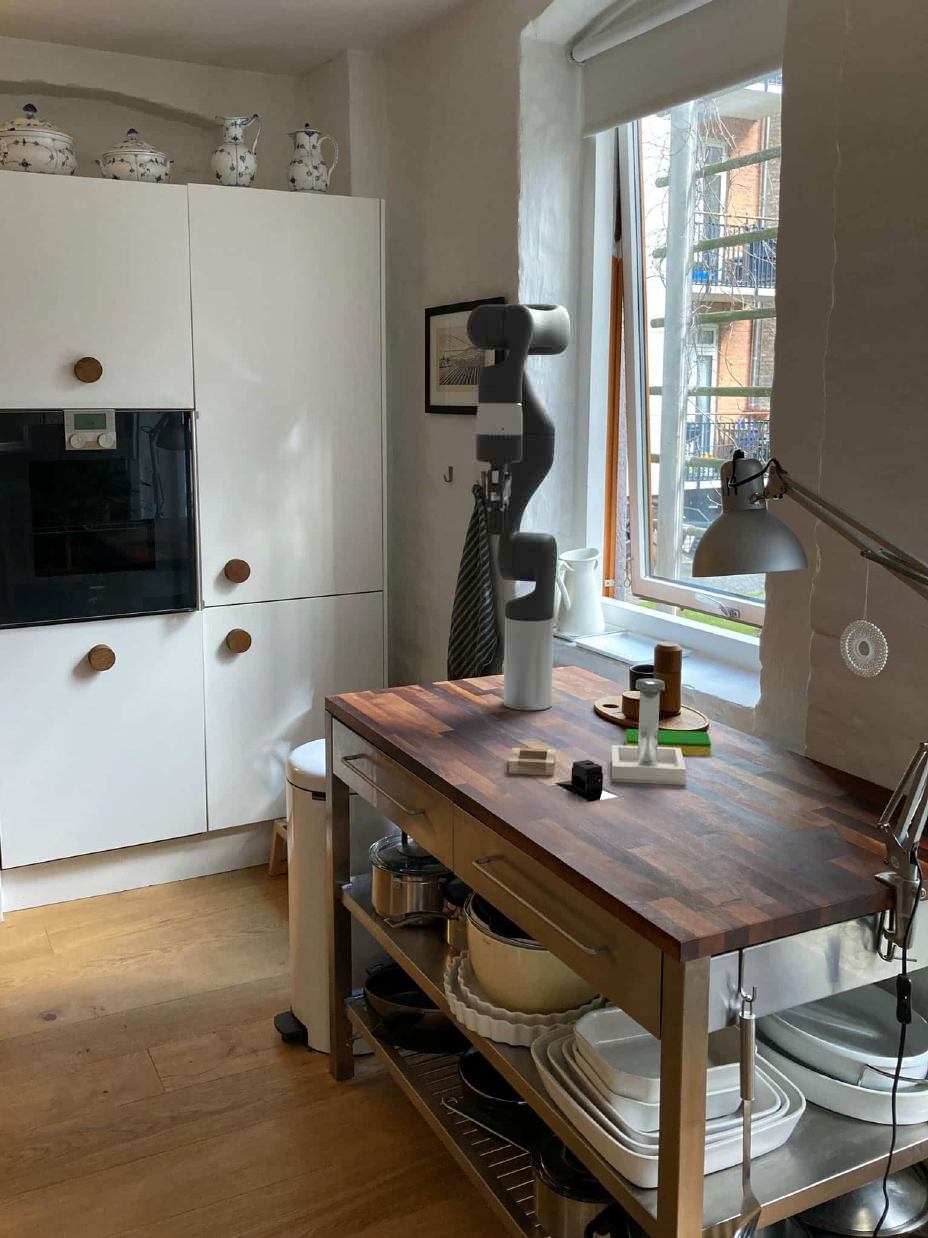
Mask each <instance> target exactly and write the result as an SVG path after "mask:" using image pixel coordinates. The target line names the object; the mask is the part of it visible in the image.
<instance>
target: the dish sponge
mask: <svg viewBox="0 0 928 1238" xmlns="http://www.w3.org/2000/svg"><path fill="white" fill-rule="evenodd" d="M638 735H639V728H638V729H635V728H633V729H632V728H627V729H625V746H638ZM709 736H710V735H709V733H708V732H705V731H685V730H681V731H680V730H659V729H658V745H657V747H670V748H681V752H682V755H690V754H691V756H693V755H695V756H696V755H697V756H710V755H711V754H712V742H711V739H710V737H709Z"/></svg>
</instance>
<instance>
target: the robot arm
mask: <svg viewBox="0 0 928 1238" xmlns="http://www.w3.org/2000/svg"><path fill="white" fill-rule="evenodd" d="M570 320H571V319H570V316H569V313H568V311H567V309H566V308H565V307H564V306H563V305H559V304H558V303H557V304H555V303H522V304H520V303H517V304H516V303H513V304H512V303H510V304H482V305H481V304H480V305H479V306H476V307H475V308H473V310H472V311H471V312H470V314H469V316H468V318H467V321H466V322H467V323H466V334H467V337H468V339H469V341H470V343H471V344H472V345H473V347H475V348H476V349H478V350H481V351H508V354H507V356H506V358H505V359H504V360H503V361H502V362H499V363H496V364H491V365H486V366H484V367H482V368H481V369H480V370H479V371H478V372H479V373H478V377H477V378H478V380H477V381H478V385H477V391H478V393H477V395H478V396H477V411H476V421H475V424H476V425H475V427H476V430H475V431H476V432H475V434H476V436H475V437H476V438H475V460H476V461H477V462H480V463H489V465H490V468H489V469H488V470H487V472H486V474H485V483H486V489H485V490H486V491H485V497H486V507H487V510H488V534H489V535H491V536H498V544H497V545H498V546H497V561H496V562H497V570H498V574H499V576H500V577H501V579H503V580H505V581H514V582H531V583H533V582H534V583H535V586H534V589H533V590H532V591H531V592H529V593H528V594H525V595H523V596H520V597H516V598H512V599H510V600H508V601H506V603H505V605H504V607H505V608H504V660H503V661H504V662H503V663H504V665H503V666H504V667H503V668H504V669H503V673H504V674H503V705H504V706H505V707H507V708H509V709H511V710H512V709H513V710H519V711H540V710H545V709H548V708H550V707H551V706H552V697H553V695H552V694H553V665H554V664H553V663H554V662H553V660H554V658H553V657H554V656H553V655H554V615H555V614H554V611H555V610H554V608H555V596H556V594H555V593H556V577H557V565H558V545H557V544H558V543H557V540H556V538H555V536H554V535H553V534H551V533H548V532H547V533H545V532H527V531H526V532H525V531H520V530H521V523H522V520H523V516H524V513H525V510H526V508H527V506H528V505H529V502H530V500H531V499H532V497H533V496H534V494H535V493H536V491H537V490H538V489H539V487H540V485H541V484H542V483H543V481H544V480H545V479H546V477H547V475H548V474H549V472H550V471H551V469H552V466H553V464H554V460H555V459H554V458H555V446H556V444H555V441H556V425H555V422H554V420H553V419H552V416H551V413H550V412H549V410H548V409H547V407H546V404H545V403H544V402H543V400H542V399H541V396H540V395H539V393H538V391H537V389H536V386H535V385H534V383H533V380H532V377H531V373H530V370H529V365H528V357H529V356H554V355H559V354H562V353H564V351H566V349H567V348H568V345H569V342H570V336H571V321H570Z"/></svg>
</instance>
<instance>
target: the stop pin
mask: <svg viewBox="0 0 928 1238" xmlns="http://www.w3.org/2000/svg"><path fill="white" fill-rule="evenodd" d="M665 683H666V682H665V681H664V680H662V679H657V678H639V679H637V680H635V689H636V690H639V711H638V712H639V713H638V730H639V735H638V760H637V765H644V766H657V745H658V730H659V716H660V715H659V714H660V696H661V695H660V692H662V691H665V685H666V684H665Z"/></svg>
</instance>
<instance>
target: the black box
mask: <svg viewBox="0 0 928 1238" xmlns="http://www.w3.org/2000/svg"><path fill="white" fill-rule="evenodd" d="M570 777H571V778H570V779H571V780H565V781H560V782H554V785H556V786H558V787H560V788H562V789H564V790H566V791H567V792H569V793H571V794H573V795H575V796H577V797H578V798H581V799H582V800H584V801H586V802H587V803H591V802H596V801H602V800H606V799H613V798H618V797H619V796H618V795H617V794H615V793H613V792H611V791H610V790H608V789H606V788H604V786H603V785H604V772H603V766H602V765H600V764H598V763H595V762H594V761H592V760H590V759H584V760H579V761H573V762H572V767H571V775H570Z"/></svg>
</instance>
